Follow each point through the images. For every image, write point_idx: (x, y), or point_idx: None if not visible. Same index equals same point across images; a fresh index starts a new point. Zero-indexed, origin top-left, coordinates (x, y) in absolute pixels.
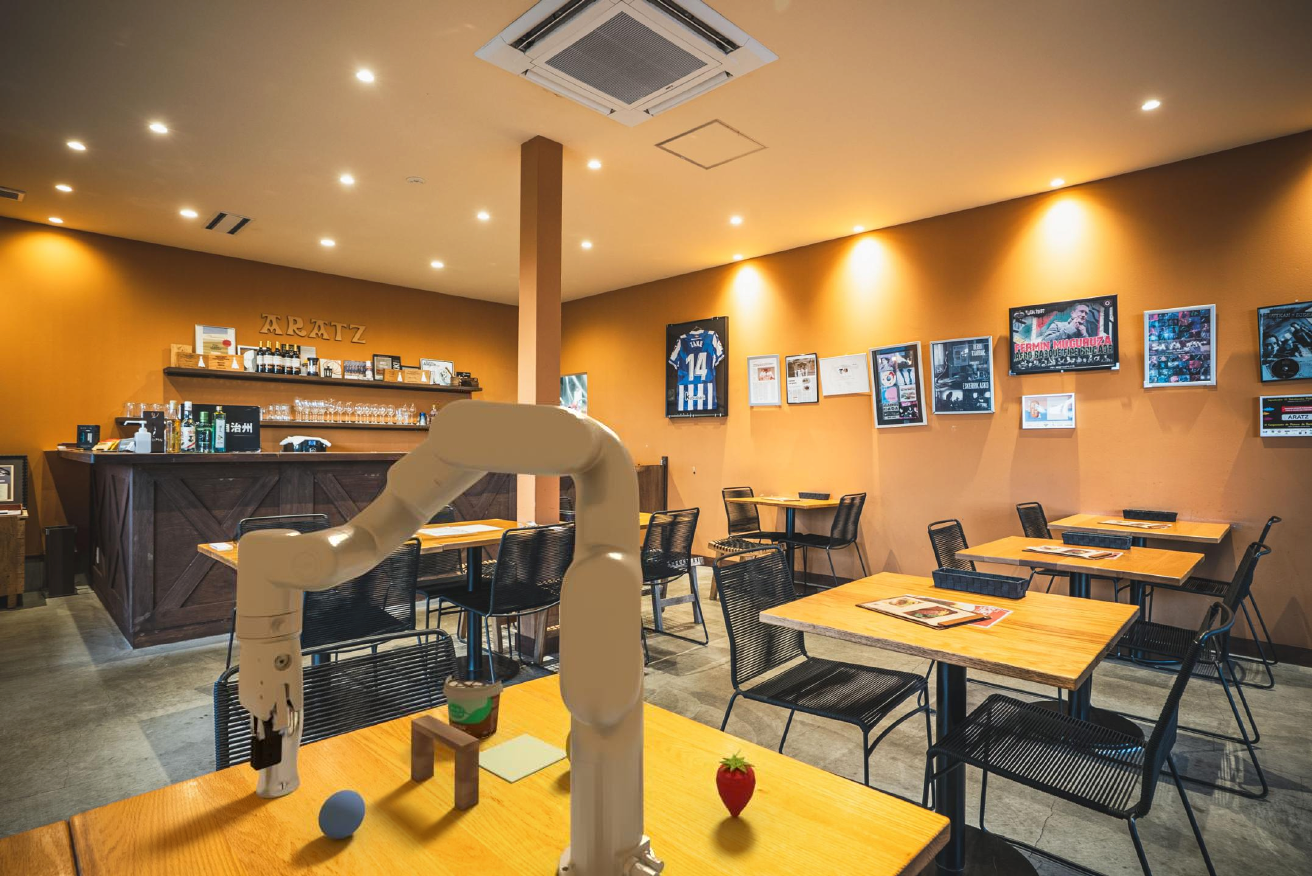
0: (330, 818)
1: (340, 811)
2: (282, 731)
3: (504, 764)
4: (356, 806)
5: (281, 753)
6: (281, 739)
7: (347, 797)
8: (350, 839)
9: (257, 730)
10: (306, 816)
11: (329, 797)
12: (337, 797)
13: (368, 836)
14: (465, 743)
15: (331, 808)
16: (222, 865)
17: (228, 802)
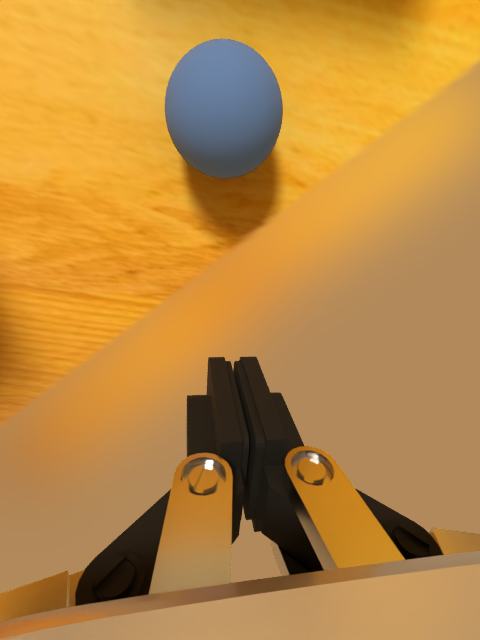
0: (254, 166)
1: (269, 143)
2: (332, 462)
3: None
4: (277, 93)
5: (260, 372)
6: (275, 413)
7: (259, 106)
8: None
9: (281, 569)
10: (60, 131)
11: (203, 137)
12: (239, 129)
13: None
14: None
15: (249, 158)
16: (139, 319)
17: None
